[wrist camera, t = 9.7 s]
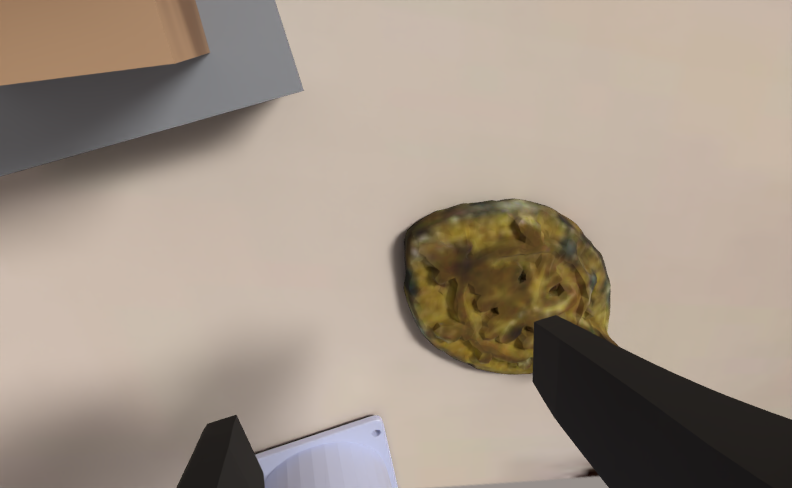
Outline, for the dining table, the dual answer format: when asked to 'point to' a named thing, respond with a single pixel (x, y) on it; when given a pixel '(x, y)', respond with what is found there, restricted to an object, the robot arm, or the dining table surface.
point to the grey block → (151, 90)
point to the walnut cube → (95, 36)
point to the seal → (501, 280)
